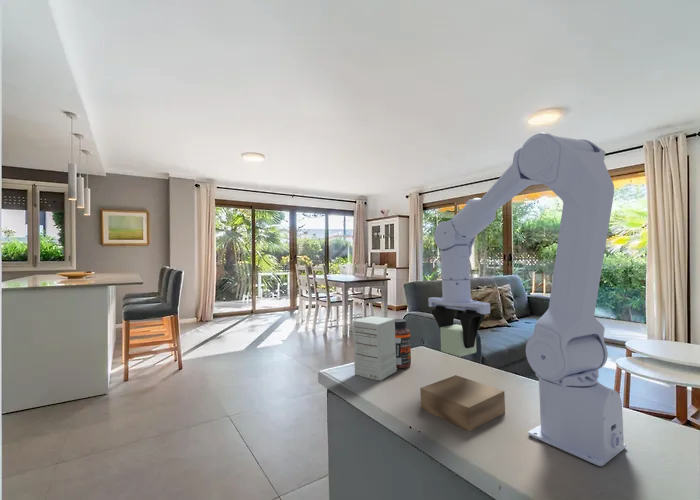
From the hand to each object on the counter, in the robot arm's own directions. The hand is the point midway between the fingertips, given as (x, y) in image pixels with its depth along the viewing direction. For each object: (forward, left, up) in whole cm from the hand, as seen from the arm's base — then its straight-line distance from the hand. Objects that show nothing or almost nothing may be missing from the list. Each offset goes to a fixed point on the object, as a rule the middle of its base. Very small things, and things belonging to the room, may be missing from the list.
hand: (458, 344), depth 70 cm
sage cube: (0, 0, -2) cm, 2 cm away
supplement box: (+16, +10, -9) cm, 21 cm away
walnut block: (-8, +9, -9) cm, 15 cm away
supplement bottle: (+17, +2, -9) cm, 19 cm away
